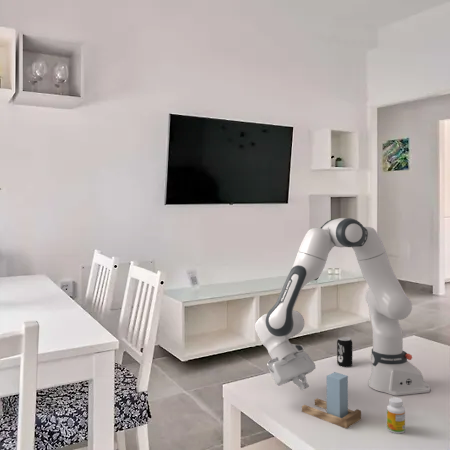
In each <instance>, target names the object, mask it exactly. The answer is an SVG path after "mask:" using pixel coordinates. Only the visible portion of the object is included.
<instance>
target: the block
mask: <svg viewBox="0 0 450 450" xmlns="http://www.w3.org/2000/svg"><path fill="white" fill-rule="evenodd" d="M326 402H327V409H326V413H329V414H331V415H334V416H337V417H340V418H343V417H345V416H346V415H348V409H349V376H348V374H347V375H346V374H343V373H339V372H336V371H333V372H332V373H330V374H327V375H326Z"/></svg>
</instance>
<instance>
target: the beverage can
mask: <svg viewBox="0 0 450 450" xmlns="http://www.w3.org/2000/svg"><path fill="white" fill-rule="evenodd" d="M336 359H337V360H336V363H337V365H338V366H340V367H341V366H342V367H341V368H349V367H352V365H353V341H352V337H349V336H338V337H337V341H336Z"/></svg>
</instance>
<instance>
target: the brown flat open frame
mask: <svg viewBox="0 0 450 450" xmlns="http://www.w3.org/2000/svg"><path fill="white" fill-rule="evenodd" d="M314 406H316V407H320V408H322V409H325V410H327V400H323V399H320V398H318V397H317V398H315V399H314ZM301 412H302V413H303V414H304V413H305V414H307V415H309V416H312V417H315V418H318V419H320V420H323V421H325V422H328V423H331V424H332V425H336V426H338V427H341V428H344V429H348V428H350V427H351V426H353V425H354V424H356V423H358V422H359V421H361V420H362V410H360V409H359V408H357V409H355V410H353V409H349V408H348V415H346V416H345V417H343V418H340V417H337V416H334V415H331V414H329V413H327V411H326V412H325V411H324V410H321V409H317V408H315V407H311V406H310V405H307V404H303V405H302V406H301Z"/></svg>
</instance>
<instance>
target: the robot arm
mask: <svg viewBox="0 0 450 450" xmlns="http://www.w3.org/2000/svg"><path fill="white" fill-rule="evenodd" d="M334 247H337V248H352V249H353V251H354V253H355V256H356V260H357V263H358V266H359V269H360V272H361V274H362V276H363V279H364V280H365V282H366V283H367V285H368V289H367V290H366V291H365V301H366V303H367V307H368V312H369V317H370V322H371V329H372V330H371V331H372V348H371V354H370V360H371V372H370V377H369V379H368V380H369V381H368V383H367V384H368V386H369V388H371V389H373V390H375V391H378V392H382V393H387V394H389V395H391V396H395V397H396V396H397V397H398V396H406V395H414V394H425V393H431V386H430V385H429V384H428V383H427V382H426V381H425V380H424V376H423V374H422V372H421V371H420V369H418V367H416V366H415V365H414V364H413V363H411V361H412V359H413V355H412V354H410V353H407V352H406V351H404V349H403V347H404V345H403V344H404V343H403V342H404V340H403V338H404V337H403V330H402V327H401V324H400V320H401V321H402V320H404V319H406V318H408V317H409V316H410V314H411V312H412V310H413V304H412V301H411V299H410V298H409V297H408V295H407V294H406V293H405V290H404V289H403V286H402V285H401V283H400V281H399V279H398V277H397V276H396V274H395V272H394V270H393V268H392V265H391V263H390V259H389V257H388V253H387V251H386V248H385V245H384V244H383V241H382V239H381V237H380V235H379V234H378V232H377V230H376V229H375V228H374V227H371V226H364V225H363V224H362V223H361V222H360V221H358V220H357V219H354V218H350V217H349V218H346V217H340V218H333V219H330V220H327V221H326V222H325V223H324V224H322V226H321V227H313V228H309V230H307V232H306V233H305V235H304V237H303V238H302V241H301V242H300V246H299V248H298V251H297V254H296V257H295V259H294V262H293V264H292V267H291V269H290V270H289V273H288V275H287V277H286V279H285V282H284V283H283V286H282V288H281V291H280V293H279V295H278V298H277V300H276V302H275V304H274V305H273V306H272V307H271V308H270V310H269V311H268V312H267V313H264V314H263V315H261V316H260V317H259V318H258V319H256V321H255V323H254V330H255V334H256V335H257V337H258V338H259V340H260V342H261V344H262V345H263V347H265V348H266V351H267V353H268V355H269V356H270V357H271V359H270V360H267V364H266V365H267V366H266V367H267V369H268V370H269V373H270V375H271V377H272V380H273V381H274V383H275V384H276V385H277V386H283V385H285V384H287V383H289V382H292V383H293V384H295V385H296V386H297V387H298V388H299V389H300V390H301V391H304V390H306V389H308V387H310V386H309V383H308V382H307V376H306V375H308V374H311V373H312V372H313V371H314V370H316V363H315V362H314V361H313V359H312V358H311V356H310V355H309V353H308V352H306V351H305V348H304V346H303V345H302V344H296V343H295V344H294V343H291V342H290V341H289V339H290V338H293V337H295V336H296V335H299V334H300V333H301V332H302V331H303V329H304V327H305V319H304V317H303V316H304V315H302V314H301V313H300V312H299V311H297V310H294V309H295V306H296V303H297V302H298V299H299V296H300V295H301V294H300V293H301V291H302V290H303V288H304V287H305V286H306V285H307V284H309V283H310V282H312V281H316V280H317V279H319V277H320V276H321V274H322V272H323V270H324V269H325V266H326V264H327V260H328V257H329V254H330V252H331V251H332V249H333V248H334Z"/></svg>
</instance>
